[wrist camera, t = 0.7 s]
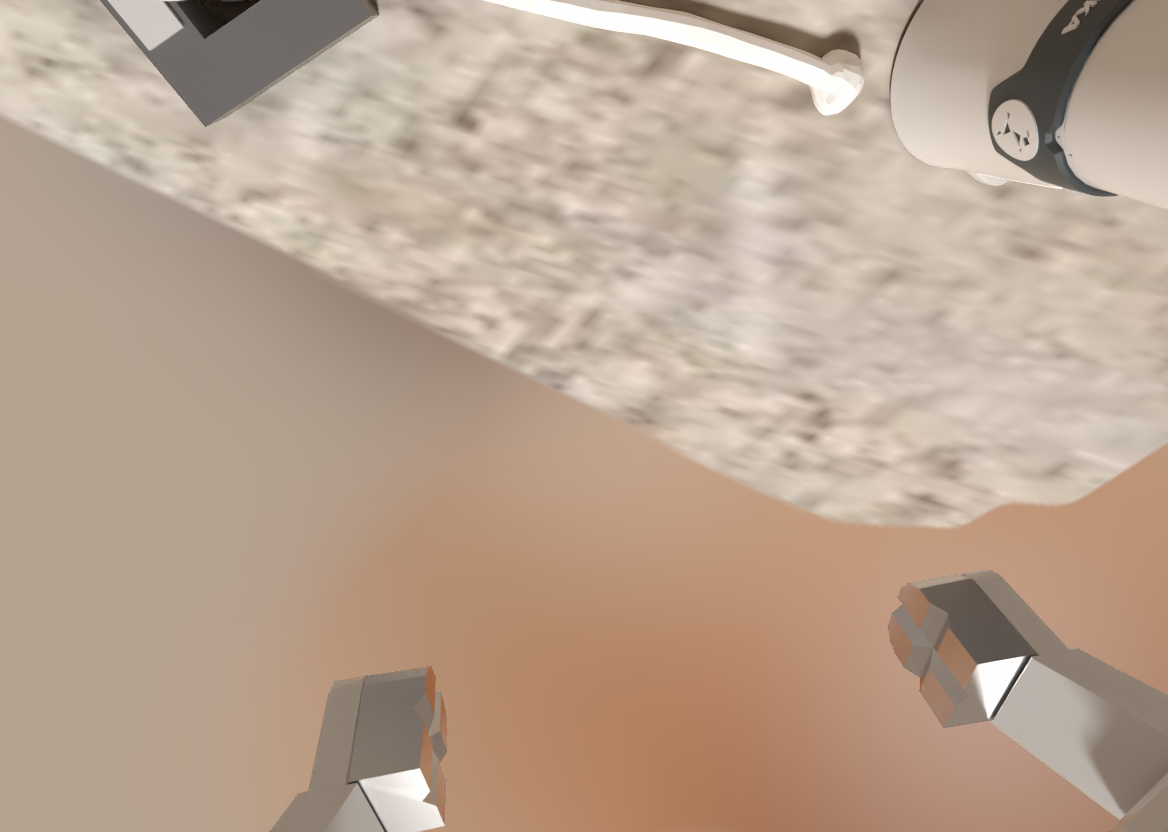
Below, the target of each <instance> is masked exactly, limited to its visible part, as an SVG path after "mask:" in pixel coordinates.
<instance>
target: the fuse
mask: <svg viewBox="0 0 1168 832" xmlns="http://www.w3.org/2000/svg"><path fill="white" fill-rule="evenodd" d="M159 1H187V0H159ZM220 1H225V2H240V1H245V0H220Z"/></svg>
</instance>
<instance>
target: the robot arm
mask: <svg viewBox="0 0 1168 832" xmlns="http://www.w3.org/2000/svg"><path fill="white" fill-rule="evenodd" d="M890 94H891V112H892V118H893V122H894V125H895V129H896V131H897V134H898V136H899V138H900V140H901V141H902V143H903V144H904V146H905V147H906V148H907V150H908V151H909V152H910V153H911V154H912V155H914V156H915V157H916V158H918V159H919V160H921V161H923V162H925V163H927V164H929V165H932V166H936V167H941V168H952V169H960V170H964V171H966V172H967V173H968V174H970V175H971V176H972V177H973V178H975V179H976V180H978V181H979V182H981V183H984V184H988V185H994V186H997V185H1001V184H1003V183H1005V182H1007V181H1008V180H1012V181H1018V182H1023V183H1029V184H1034V185H1040V186H1046V187H1052V188H1063V190H1066V191H1070V192H1074V193H1079V194H1089V195H1094V196H1117V195H1121V196H1124V197H1127V198H1131V199H1134V200H1137V201H1141V202H1144V203H1147V204H1151V205H1154V206H1157V207H1161V208H1164V209H1167V210H1168V0H924V1H923V3H922V4H921V6H920V7H919V9H918V10H917V12H916V14H915V15H914V17H913V19H912V21H911V23H910V25H909V27H908V29H907V31H906V33H905V35H904V38H903V40H902V42H901V45H900V48H899V51H898V54H897V57H896V61H895V65H894V69H893V74H892V81H891V93H890ZM898 599H899V600H900V601H901V603H902V605H901V606H900V607H899V608H898V609H896V610H895V611H894V612H893V613H892V614H891V618H890V621H889V624H888V630H889V637H890V642H891V644H892V647H893V649H894V652H895V654H896V656H897V657H898V659H899V660H900V662H901V663H902V665H903V667H904V668H906V669H907V670H909V671H910V672H912V673H914V674H915V675H917V676H919V677H920V689H919V691H920V693H921V694H922V696H923V697H924V699H925V700H926V702H927V703H928V705H929V706H930V708H931V709H932V711H933V713H934V714H935V716H936V717H937V719H938V720H939V722H940V723H941V725H942V726H943V728H948V727H954V726H960V725H966V724H972V723H978V722H984V721H990V720H993V721H992V724H993V725H995V726H996V727H997V728H999V729H1000V730H1001V731H1003V732H1004V733H1005V734H1007V735H1008V736H1009V737H1011V738H1012V739H1013V740H1014V741H1016V742H1017V743H1018V744H1020V745H1021V746H1022V747H1024V748H1025V749H1026V750H1028V751H1029V752H1031V753H1032V754H1033V755H1034V756H1036V757H1037V758H1038V759H1040V760H1041V761H1042V762H1044V763H1045V764H1047V765H1048V766H1049V767H1050V768H1052V769H1053V770H1054V771H1056V772H1057V773H1058V774H1060V775H1061V776H1062V777H1064V778H1065V779H1066V780H1068V781H1069V782H1070V783H1072V784H1073V785H1074V786H1076V787H1077V788H1078V789H1080V790H1081V791H1082V792H1083V793H1085V794H1086V795H1088V796H1089V797H1090V798H1091V799H1093V800H1094V801H1095V802H1097V803H1098V804H1099V805H1101V806H1102V807H1103V808H1105V809H1106V810H1108V811H1109V812H1110V813H1112V814H1113V815H1114V816H1116V817H1117V818H1118V819H1119V820H1120V821H1119V822H1118V823H1117V824H1116V825H1115V826H1114V827H1112V829H1110V831H1108V832H1168V695H1166V694H1164V693H1162V692H1160V691H1159V690H1157V689H1155V688H1153V687H1151V686H1149V685H1147V684H1145V683H1143V682H1141V681H1139V680H1138V679H1135V678H1134V677H1132V676H1130V675H1128V674H1126V673H1124V672H1122V671H1120V670H1118V669H1116V668H1115V667H1113V666H1111V665H1109V664H1107V663H1105V662H1103V661H1101V660H1099V659H1097V658H1095V657H1093V656H1092V655H1090V654H1088V653H1086V652H1084V651H1082V650H1080V649H1078V648H1077V649H1068V648H1067V646H1066V645H1065V644H1064V643H1063V642H1062V641H1061V640H1060V639H1059V638H1058V637H1057V636H1056V635H1055V634H1054V632H1053V631H1052V630H1051V629H1050V628H1049V627H1048V626H1047V625H1046V624H1045V623H1044V622H1043V621H1042V620H1041V619H1040V618H1039V616H1037V614H1036V613H1035V612H1034V611H1033V610H1032V609H1031V608H1030V607H1029V606H1028V605H1027V604H1026V603H1025V601H1024V600H1023V599H1022V598H1021V597H1020V596H1019V595H1018V594H1017V593H1016V592H1015V591H1014V590H1013V589H1012V587H1010V585H1009V584H1008V583H1007V582H1006V581H1005V580H1004V579H1003V578H1002V577H1001V576H1000V575H999V574H997V573H995V572H994V571H992V570H981V571H976V572H970V573H966V574H960V575H959V574H956V575H950V576H945V577H939V578H934V579H929V580H924V581H918V582H914V583H908V584H906V585H905V586H903V587H902V588H901V590H900V593H899V595H898ZM435 686H436V676H435V674H434V671H433V669H432V666H426V667H419V668H413V669H407V670H401V671H395V672H388V673H382V674H376V675H370V676H368V675H367V676H361V677H355V678H350V679H345V680H339V681H334V683H333V686H332V687H331V689H330V691H329V694H328V698H327V703H326V708H325V712H324V717H323V722H322V727H321V732H320V737H319V741H318V747H317V751H316V756H315V761H314V766H313V771H312V775H311V780H310V785H309V790H308V791H307V792H303V793H298V794H297V796H296V797H295V799H294V800H293V801H292V802H291V804H290V805H289V806H288V808H287V809H286V810H285V812H284V813H283V814H282V816H281V817H280V819H279V820H278V821H277V822H276V824H275V825H274V826H273V828H272V829H271V830H270V832H418V831H423V830H428V829H432V828H437V827H441V826H445V804H446V802H445V801H446V778H445V775H444V773H443V770H442V767H441V765H440V762H441V760H442V759H443V757H444V756H445V754H446V752H447V736H448V735H447V733H448V732H447V717H446V710H445V704H444V700H443V697H442V694H441V692H439V691H437V690H435Z"/></svg>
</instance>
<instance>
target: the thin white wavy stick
mask: <svg viewBox="0 0 1168 832" xmlns="http://www.w3.org/2000/svg"><path fill="white" fill-rule="evenodd" d="M484 1H488V2H492V3H496V4H500V5H504V6H508V7H512V8H516V9H520V10H524V11H528V12H533V13H537V14H541V15H545V16H549V17H553V18H557V19H561V20H565V21H569V22H573V23H577V24H582V25H586V26H590V27H595V28H601V29H606V30H612V31H619V32H627V33H634V34H642V35H648V36H652V37H656V38H660V39H664V40H668V41H673V42H677V43H681V44H685V45H689V46H693V47H696V48H700V49H703V50H706V51H710V52H713V53H716V54H720V55H723V56H726V57H729V58H733V59H736V60H739V61H743V62H746V63H750V64H753V65H757V66H760V67H763V68H766V69H769V70H773V71H776V72H779V73H782V74H785V75H787V76H790V77H792V78H795V79H797V80H799V81H801V82H804V83H806V84H808V85H809V87H810V90H811V93H812V98H813V101H814V104H815V106H816V108H817V109H818V110H819V112H820V113H822V114H824V115H831V114H837V113H839V112H840V111H842V110H843V109H845V108H846V107H847V106H848V105H849V104H850V103H851V102H852V101H853V100H854V99H855V98H856V96H857V95H858V94H859V93H860V92H861V89H862V86H863V84H864V70H863V67H862V62H861V60H860V59H859V58H858V56H857V55H856V54H853V53H851V52H848V51H846V50H841V49H836V50H832V51H829V52H828V53H827V54H826V55H825V56H823V57H822V58H819V57H817V56H815V55H813V54H811V53H809V52H806V51H804V50H801V49H798V48H795V47H792V46H789V45H786V44H783V43H780V42H777V41H774V40H771V39H768V38H765V37H762V36H759V35H756V34H753V33H750V32H746V31H743V30H739V29H736V28H733V27H729V26H726V25H723V24H720V23H717V22H714V21H711V20H708V19H705V18H703V17H700V16H697V15H694V14H690V13H687V12H683V11H677V10H670V9H663V8H656V7H650V6H645V5H640V4H635V3H630V2H624V1H620V0H484Z"/></svg>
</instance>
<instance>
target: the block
mask: <svg viewBox="0 0 1168 832" xmlns="http://www.w3.org/2000/svg"><path fill="white" fill-rule="evenodd" d="M100 1H101V2H102V3H103V5H104V6H105V7H106V8H107V9H108V11H109V12H110V13H111V14H112V15H113V17H114V18H115V19H116V20H117V21H118V23H119V24H120V25H121V26H122V27H123V29H124V30H125V31H126V32H127V33H128V35H129V36H130V37H131V38H132V39H133V41H134V42H135V43H136V44H137V45H138V47H139V48H140V49H141V50H142V51H143V53H144V54H145V55H146V56H147V57H148V59H149V60H150V61H151V62H152V63H153V65H154V66H155V67H156V68H157V69H158V71H159V72H160V73H161V74H162V75H163V77H164V78H165V79H166V80H167V81H168V83H169V84H170V85H171V86H172V87H173V89H174V90H175V91H176V92H177V93H178V95H179V96H180V97H181V98H182V99H183V101H184V102H185V103H186V104H187V105H188V107H189V108H190V109H191V110H192V111H193V113H194V114H195V115H196V116H197V117H198V119H199V120H200V121H201V122H202V123H203V125H204V126H205V127H206V126H208V125H211V124H213V123H215V122H217V121H219V120H221V119H224V118H226V117H227V116H229V115H230V114H232V113H233V112H235V111H236V110H238V109H239V108H241V107H242V106H244V105H245V104H247V103H248V102H250V101H251V100H253V99H254V98H256V97H257V96H259V95H260V94H262V93H263V92H265V91H266V90H268V89H269V88H271V87H272V86H274V85H275V84H277V83H278V82H280V81H281V80H283V79H284V78H286V77H287V76H288V75H290V74H291V73H293V72H294V71H296V70H297V69H299V68H300V67H302V66H303V65H305V64H306V63H308V62H309V61H311V60H312V59H314V58H315V57H317V56H318V55H320V54H321V53H323V52H324V51H326V50H327V49H329V48H330V47H332V46H333V45H335V44H336V43H338V42H339V41H341V40H342V39H344V38H345V37H347V36H348V35H350V34H351V33H353V32H354V31H356V30H357V29H359V28H360V27H362V26H363V25H365V24H366V23H368V22H369V21H371V20H372V19H374V18H375V17H377V16H378V15H379V14H378V12H377V11H376V9H375V7H374V6H373V4H372V2H371V1H370V0H260V1H259V2H257V3H256V4H254V5H253V6H252V7H250V8H249V9H247V10H246V11H244V12H243V13H241V14H240V15H239V16H237V17H236V18H234V19H233V20H231V21H230V22H229V23H227V24H226V25H224V26H223V27H221V28H219V27H218V26H217V24H216V23H215V22H214V20H213V19H212V18H211V16H210V15H209V14H208V12H207V11H206V10H205V8H204V7H203V6H202V4H201V3H200V2H199V0H187V1H159V0H100Z"/></svg>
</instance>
